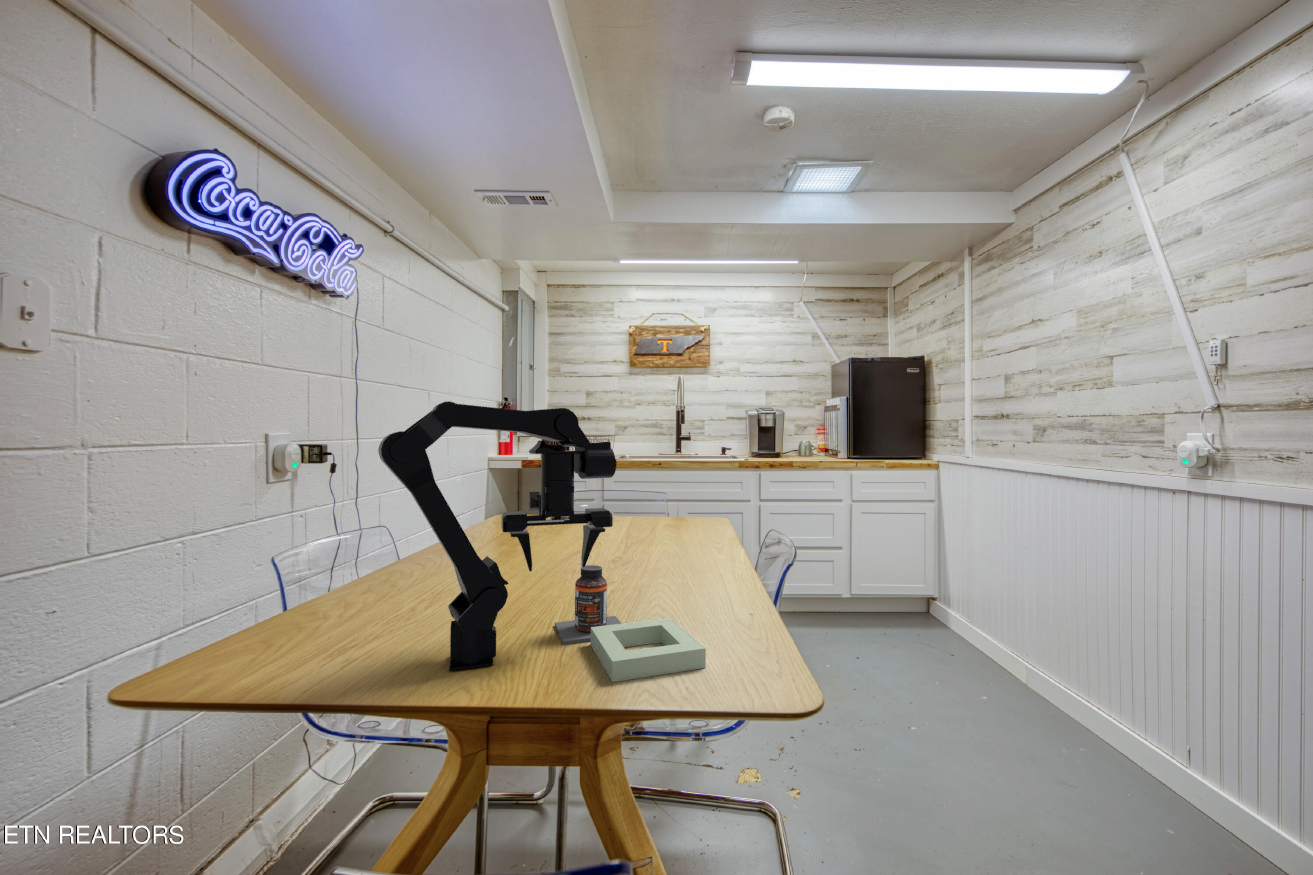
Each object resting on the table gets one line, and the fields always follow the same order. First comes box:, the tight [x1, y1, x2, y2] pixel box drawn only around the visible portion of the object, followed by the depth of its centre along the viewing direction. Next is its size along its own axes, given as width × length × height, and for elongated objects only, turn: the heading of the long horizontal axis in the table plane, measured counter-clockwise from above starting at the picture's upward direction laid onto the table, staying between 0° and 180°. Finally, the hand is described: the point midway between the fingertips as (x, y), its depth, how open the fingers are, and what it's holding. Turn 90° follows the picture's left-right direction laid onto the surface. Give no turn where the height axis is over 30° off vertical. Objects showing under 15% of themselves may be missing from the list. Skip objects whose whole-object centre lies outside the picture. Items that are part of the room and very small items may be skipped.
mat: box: [554, 615, 623, 646], centre depth 95 cm, size 12×10×1 cm
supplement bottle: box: [574, 564, 608, 633], centre depth 95 cm, size 6×6×11 cm
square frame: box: [590, 617, 707, 683], centre depth 84 cm, size 15×15×3 cm
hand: (557, 568), depth 89 cm, fingers open, 9 cm apart
